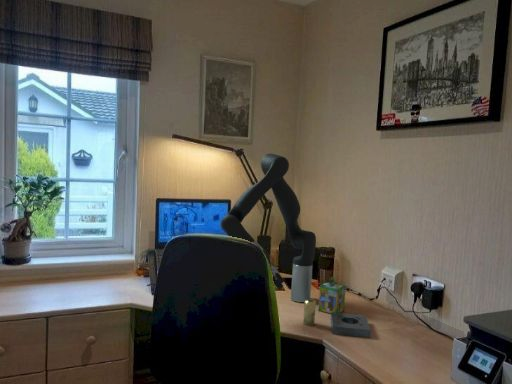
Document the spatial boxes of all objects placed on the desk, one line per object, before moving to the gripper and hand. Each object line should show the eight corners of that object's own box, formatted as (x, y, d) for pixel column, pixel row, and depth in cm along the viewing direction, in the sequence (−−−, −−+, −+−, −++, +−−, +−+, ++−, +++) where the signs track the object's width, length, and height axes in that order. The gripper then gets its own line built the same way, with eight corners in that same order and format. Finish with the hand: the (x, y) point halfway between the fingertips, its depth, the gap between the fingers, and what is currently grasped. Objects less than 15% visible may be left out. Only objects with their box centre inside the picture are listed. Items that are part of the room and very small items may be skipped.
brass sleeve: (303, 321, 169) (304, 298, 168) (314, 322, 168) (315, 299, 168) (303, 325, 164) (304, 301, 164) (314, 326, 164) (315, 302, 163)
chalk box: (337, 316, 177) (339, 282, 177) (317, 311, 182) (319, 278, 181) (344, 310, 185) (347, 277, 184) (325, 305, 190) (328, 274, 189)
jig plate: (330, 319, 173) (330, 312, 173) (364, 322, 171) (365, 315, 171) (332, 334, 157) (333, 326, 157) (370, 337, 155) (370, 330, 155)
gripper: (260, 252, 160) (288, 284, 159) (264, 245, 174) (290, 275, 173) (246, 264, 161) (273, 296, 160) (251, 257, 175) (276, 286, 174)
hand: (282, 285), depth 167 cm, fingers open, 8 cm apart
